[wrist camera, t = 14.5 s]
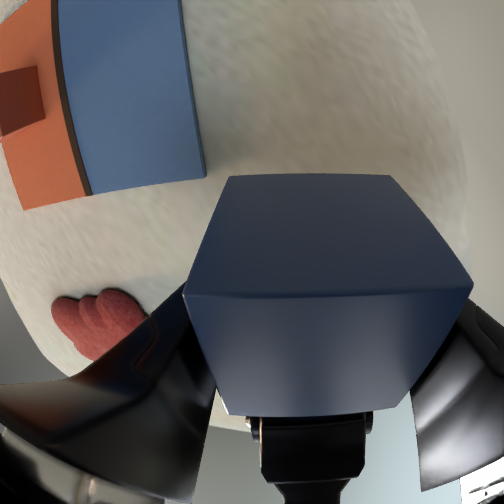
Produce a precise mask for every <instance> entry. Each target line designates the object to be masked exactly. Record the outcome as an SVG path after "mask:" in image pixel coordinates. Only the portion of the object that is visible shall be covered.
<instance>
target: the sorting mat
mask: <svg viewBox="0 0 504 504" xmlns="http://www.w3.org/2000/svg"><path fill="white" fill-rule="evenodd" d="M31 66H37V71H38V78H39V85H40V91H41V97H42V103H43V108H44V113H45V119H44V120H42V121H40V122H38V123H37V124H35V125H33V126H31V127H29V128H27V129H26V130H24V131H22V132H20V133H19V134H17V135H15V136H13V137H11V138H9V139H7V140H5V141H3V142H2V146H3V150H4V154H5V157H6V161H7V164H8V167H9V171H10V174H11V177H12V180H13V183H14V186H15V189H16V192H17V194H18V197H19V200H20V203H21V205H22V208H23V210H28V209H32V208H36V207H40V206H44V205H48V204H53V203H57V202H61V201H66V200H70V199H75V198H80V197H85V196H91V195H95V194H100V193H105V192H111V191H116V190H122V189H128V188H134V187H141V186H147V185H154V184H161V183H168V182H176V181H184V180H192V179H201V178H205V177H206V170H205V164H204V159H203V153H202V147H201V141H200V135H199V129H198V123H197V117H196V111H195V104H194V98H193V91H192V85H191V78H190V71H189V64H188V57H187V50H186V42H185V35H184V27H183V19H182V10H181V2H180V0H29V1H27V2H26V3H25V4H24V5H22V6H21V7H20V8H19V9H18V10H16V11H15V12H14V13H13V14H12V15H11V16H10V17H8V18H7V19H6V20H5V21H4V22H3V23H2V24H1V25H0V73H2V72H6V71H10V70H15V69H20V68H25V67H31Z"/></svg>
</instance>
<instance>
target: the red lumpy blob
mask: <svg viewBox="0 0 504 504" xmlns="http://www.w3.org/2000/svg"><path fill="white" fill-rule="evenodd" d="M51 313H52V317H53V319H54V321H55V323H56V325H57V326H58V327H59V329H60V330H61V331H62V332H63V333H64V334H65V335H66V336H67V337H68V338H69V339H70V340H71V341H72V342H73V343H74V345H75V347H76V349H77V350H78V351H79V353H80V354H82V355H83V356H85V357H86V358H88V359H90V360H93V361H95V360H97V359H98V358H99V357H100V356H102V355H103V354H104V353H105V352H107V351H108V350H109V349H111V348H112V347H113V346H114V345H116V344H117V343H118V342H119V341H121V340H122V339H123V338H124V337H125V336H127V335H128V334H129V333H130V332H131V331H132V330H133V329H135V328H136V327H137V326H138V325H139V324H140V323H141V322H142V321H143V320H144V319H145V318H147V317H146V316H145V315H144V314H143V313H142V311H141V309H140V307H139V306H138V305H137V303H136V302H135V301H134V300H132V299H131V298H130V297H129V296H127V295H126V294H124V293H122V292H119V291H116V290H105V291H103V292H101V293H100V294H99V295H98V297H97V298H93V297H83V298H82V299H81V300H80V301H75V300H72V299H68V298H58V299H56V300H55V301H54V302H53V303H52V307H51Z"/></svg>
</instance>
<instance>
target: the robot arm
mask: <svg viewBox="0 0 504 504" xmlns="http://www.w3.org/2000/svg"><path fill="white" fill-rule="evenodd" d="M185 284H186V282H184V283H183V284H182V285H181V286H180V287H179V288H178V289H177V290H176V291H175V292H174V293H172V294H171V295H170V296H169V297H168V298H167V299H166V300H165V301H164V302H163V303H162V304H161V305H160V306H158V307H157V308H156V309H155V310H154V311H153V312H152V313H151V314H150V317H149V316H148V317H147V318H145V319H144V320H143V321H142V322H141V323H140V324H139V325H138V326H137V327H136V328H135V329H133V330H132V331H131V332H130V333H129V334H128V335H127V336H125V337H124V338H123V339H122V340H121V341H119V342H118V343H117V344H116V345H114V346H113V347H112V348H111V349H109V350H108V351H107V352H105V353H104V354H103V355H102V356H100V357H99V358H98V359H97V360H95V361H94V362H93V363H91V364H90V365H89V366H88V367H86V368H85V369H84V370H82V371H81V372H79V373H77V374H76V375H74V376H71V377H68V378H65V379H58V380H50V381H41V382H31V383H19V384H0V423H1V424H3V425H4V426H5V427H6V428H5V431H4V434H3V435H2V434H1V433H0V504H166V501H167V500H171V501H176V502H181V503H186V504H192V500H193V496H194V491H195V485H196V481H197V477H198V472H199V467H200V462H201V458H202V453H203V448H204V443H205V438H206V433H207V429H208V425H209V420H210V415H211V411H212V406H213V401H214V397H215V392H216V385H215V383H214V380H213V378H212V375H211V373H210V370H209V368H208V365H207V363H206V360H205V358H204V355H203V352H202V350H201V347H200V344H199V342H198V339H197V336H196V333H195V331H194V328H193V325H192V322H191V319H190V316H189V314H188V311H187V308H186V305H185V302H184V299H183V295H182V293H183V289H184V287H185ZM409 391H410V396H411V402H412V408H413V414H414V421H415V428H416V433H417V434H416V437H417V445H418V456H419V467H420V484H421V491H422V492H423V491H426V490H430V489H433V488H436V487H438V486H441V485H444V484H447V483H449V482H452V481H455V480H457V479H460V487H461V497H462V501H463V504H504V327H503V326H502V325H501V324H500V323H498V322H497V321H496V320H494V319H493V318H492V317H491V316H490V315H488V314H487V313H486V312H485V311H484V310H482V309H481V308H480V307H479V306H476V304H475V303H474V302H473V301H471V300H470V299H469V298H468V299H467V301H466V303H465V305H464V307H463V308H462V310H461V312H460V314H459V316H458V318H457V319H456V321H455V323H454V325H453V326H452V328H451V330H450V332H449V333H448V335H447V336H446V338H445V340H444V341H443V343H442V345H441V346H440V348H439V349H438V351H437V352H436V354H435V355H434V357H433V358H432V360H431V361H430V363H429V364H428V366H427V367H426V369H425V370H424V371H423V373H422V374H421V375H420V377H419V378H418V380H417V381H416V382H415V384H414V385H413V386H412V388H411V389H410V390H409ZM246 424H247V425H248V426H249V427H250V428H251V432H252V437H253V440H254V441H255V442H260V464H261V473H262V474H263V476H264V478H265V480H266V481H267V483H271V484H274V485H275V486H276V487H277V489H278V490H279V491H280V493H281V494H282V495H283V504H340V494H341V491H342V490H343V489H344V487H345V486H346V485H347V483H348V482H349V481H350V479H351V478H357V477H358V476H359V474H360V473H361V471H362V469H363V467H364V465H365V441H366V440H365V439H366V434H369V433H370V432H371V430H372V425H373V411H367V412H359V413H349V414H339V415H325V416H304V417H260V416H246Z"/></svg>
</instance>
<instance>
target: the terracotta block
mask: <svg viewBox="0 0 504 504" xmlns="http://www.w3.org/2000/svg"><path fill="white" fill-rule="evenodd" d="M44 119H45V113H44V108H43V103H42V97H41V91H40V85H39V78H38V71H37V66H31V67H25V68H20V69H15V70H10V71H6V72H2V73H0V143H1V142H3V141H5V140H7V139H9V138H11V137H13V136H15V135H17V134H19V133H20V132H22V131H24V130H26V129H27V128H29V127H31V126H33V125H35V124H37V123H38V122H40V121H42V120H44Z"/></svg>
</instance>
